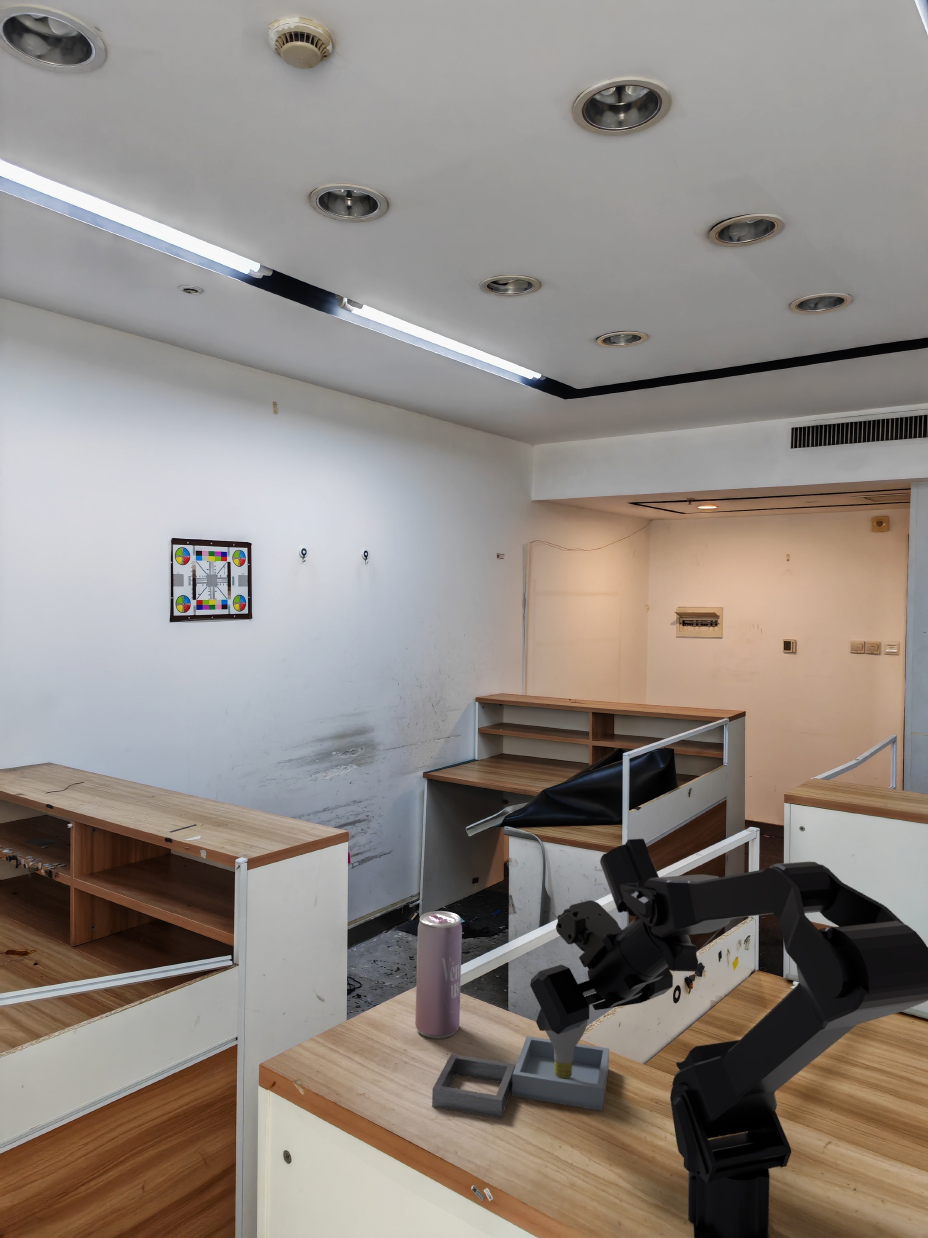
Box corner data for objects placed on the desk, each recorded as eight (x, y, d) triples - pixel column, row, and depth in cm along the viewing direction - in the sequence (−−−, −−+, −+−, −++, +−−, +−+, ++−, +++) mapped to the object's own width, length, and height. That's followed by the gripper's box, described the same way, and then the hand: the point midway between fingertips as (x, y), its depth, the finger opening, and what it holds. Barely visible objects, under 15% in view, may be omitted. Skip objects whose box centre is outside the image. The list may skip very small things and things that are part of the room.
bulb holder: (514, 1081, 98) (515, 1064, 98) (501, 1119, 90) (501, 1100, 90) (450, 1070, 100) (451, 1054, 100) (432, 1106, 92) (432, 1089, 92)
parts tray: (608, 1069, 101) (609, 1048, 101) (602, 1111, 92) (602, 1089, 92) (526, 1056, 104) (526, 1036, 104) (512, 1096, 95) (512, 1074, 95)
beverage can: (441, 1015, 114) (443, 907, 115) (468, 1031, 110) (471, 920, 110) (406, 1027, 111) (409, 916, 111) (433, 1045, 106) (436, 929, 106)
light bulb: (584, 1093, 95) (586, 1006, 95) (537, 1087, 96) (540, 1000, 96) (587, 1070, 100) (589, 987, 100) (542, 1064, 101) (544, 982, 101)
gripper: (654, 873, 100) (587, 937, 108) (543, 900, 88) (477, 969, 96) (708, 959, 93) (632, 1020, 101) (596, 1000, 82) (520, 1065, 90)
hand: (567, 1016), depth 98 cm, fingers open, 9 cm apart
